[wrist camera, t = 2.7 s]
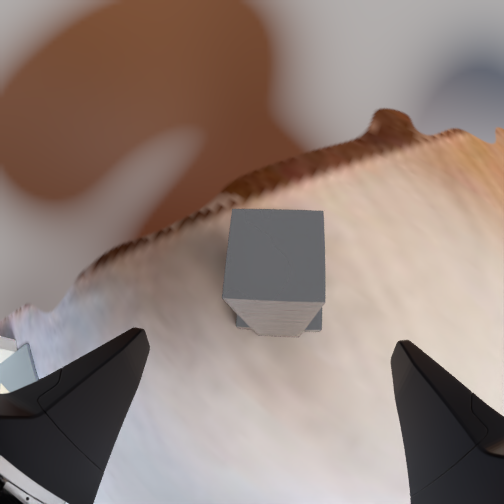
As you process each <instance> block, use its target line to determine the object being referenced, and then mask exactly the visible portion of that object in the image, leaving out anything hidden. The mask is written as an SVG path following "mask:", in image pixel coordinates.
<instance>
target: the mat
mask: <svg viewBox="0 0 504 504" xmlns="http://www.w3.org/2000/svg"><path fill="white" fill-rule="evenodd" d="M37 380H39V379H38V376H37V373H36V370H35V366H34V362H33V359H32V355H31V351H30V347H29V344H25V345H24V346H23V347H21V348H20V349H19V350H17V351H16V352H15V353H13V354H12V355H11V356H9V357H8V358H7V359H6V360H4V361H3V362H2V363H0V394H4V393H10V392H12V391H15V390H17V389H19V388H22V387H24V386H26V385H29V384H31V383H33V382H35V381H37Z"/></svg>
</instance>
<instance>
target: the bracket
mask: <svg viewBox="0 0 504 504" xmlns="http://www.w3.org/2000/svg"><path fill="white" fill-rule="evenodd" d="M222 299H223V300H224V301H225V302H226V303H227V304H228V305H229V306H230V307H231V308H232V309H233V310H234V311H235V312H236V313H237V321H236V327H237V328H239V329H252V330H253V331H254V332H255V333H256V334H257V335H260V336H279V337H299V336H300V335H301V334H302V333H303V332H320V331H321V330H322V306H323V305H324V303H325V240H324V216H323V211H311V210H275V209H232V216H231V224H230V232H229V240H228V249H227V257H226V266H225V275H224V284H223V294H222Z"/></svg>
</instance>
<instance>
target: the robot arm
mask: <svg viewBox="0 0 504 504" xmlns="http://www.w3.org/2000/svg"><path fill="white" fill-rule="evenodd" d="M149 350H150V346H149V342H148V339H147V336H146V333H145V330H144V329H141V328H132V329H130V330H128V331H126V332H125V333H123V334H121V335H119V336H118V337H116V338H114V339H112V340H111V341H109V342H107V343H105V344H103V345H102V346H100V347H98V348H96V349H95V350H93V351H91V352H89V353H87V354H86V355H84V356H82V357H80V358H79V359H77V360H75V361H73V362H71V363H70V364H68V365H66V366H64V367H63V368H61V369H59V370H57V371H55V372H53V373H52V374H50V375H48V376H46V377H44V378H42V379H40V380H37V381H35V382H33V383H31V384H29V385H26V386H24V387H22V388H19V389H17V390H15V391H12V392H10V393H4V394H0V504H65V503H66V502H67V503H69V504H93V503H94V500H95V497H96V494H97V491H98V488H99V485H100V482H101V480H102V477H103V474H104V471H105V468H106V465H107V463H108V460H109V457H110V455H111V452H112V449H113V447H114V444H115V442H116V439H117V437H118V434H119V431H120V429H121V427H122V424H123V422H124V419H125V417H126V414H127V412H128V409H129V407H130V405H131V402H132V400H133V397H134V395H135V393H136V390H137V388H138V386H139V383H140V380H141V377H142V373H143V370H144V367H145V364H146V360H147V357H148V354H149ZM391 369H392V377H393V385H394V394H395V401H396V406H397V411H398V416H399V421H400V426H401V431H402V437H403V443H404V449H405V455H406V462H407V470H408V478H409V487H410V497H411V498H410V499H411V504H504V416H502V415H501V414H499V413H498V412H497V411H495V410H494V409H492V408H491V407H490V406H488V405H487V404H486V403H485V402H483V401H482V400H481V399H480V398H479V397H477V396H476V395H475V394H474V393H472V392H471V391H470V390H469V389H468V388H467V387H466V386H464V385H463V384H462V383H461V382H460V381H458V380H457V379H456V378H455V377H454V376H452V375H451V374H450V373H449V372H448V371H446V370H445V369H444V368H443V367H442V366H440V365H439V364H438V363H437V362H435V361H434V360H433V359H432V358H431V357H429V356H428V355H427V354H426V353H424V352H423V351H422V350H421V349H419V348H418V347H417V346H416V345H414V344H413V343H412V342H411V341H409V340H400V341H398V342H397V344H396V346H395V349H394V352H393V354H392V357H391Z"/></svg>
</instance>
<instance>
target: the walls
mask: <svg viewBox="0 0 504 504" xmlns="http://www.w3.org/2000/svg"><path fill="white" fill-rule="evenodd" d="M16 351H17V345H16V341H15V340H14V339H10V338H6V337H3V336H0V363H2V362H3V361H4V360H6V359H7V358H8V357H9V356H11V355H12V354H13V353H15V352H16Z"/></svg>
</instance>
